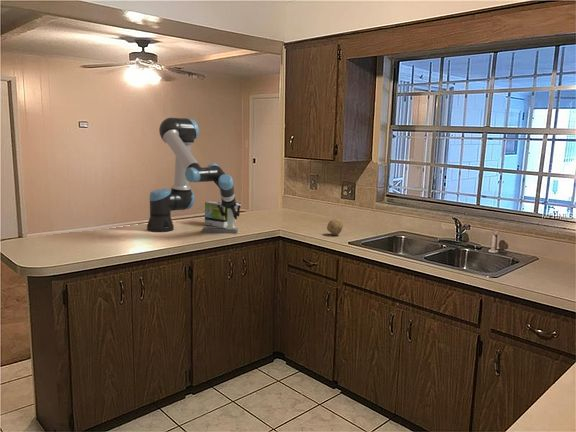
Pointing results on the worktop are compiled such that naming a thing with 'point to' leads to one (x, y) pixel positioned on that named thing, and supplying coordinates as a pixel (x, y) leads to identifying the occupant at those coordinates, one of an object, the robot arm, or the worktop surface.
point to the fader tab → (230, 220)
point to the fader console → (219, 230)
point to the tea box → (214, 215)
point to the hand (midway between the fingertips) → (231, 221)
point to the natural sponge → (335, 226)
